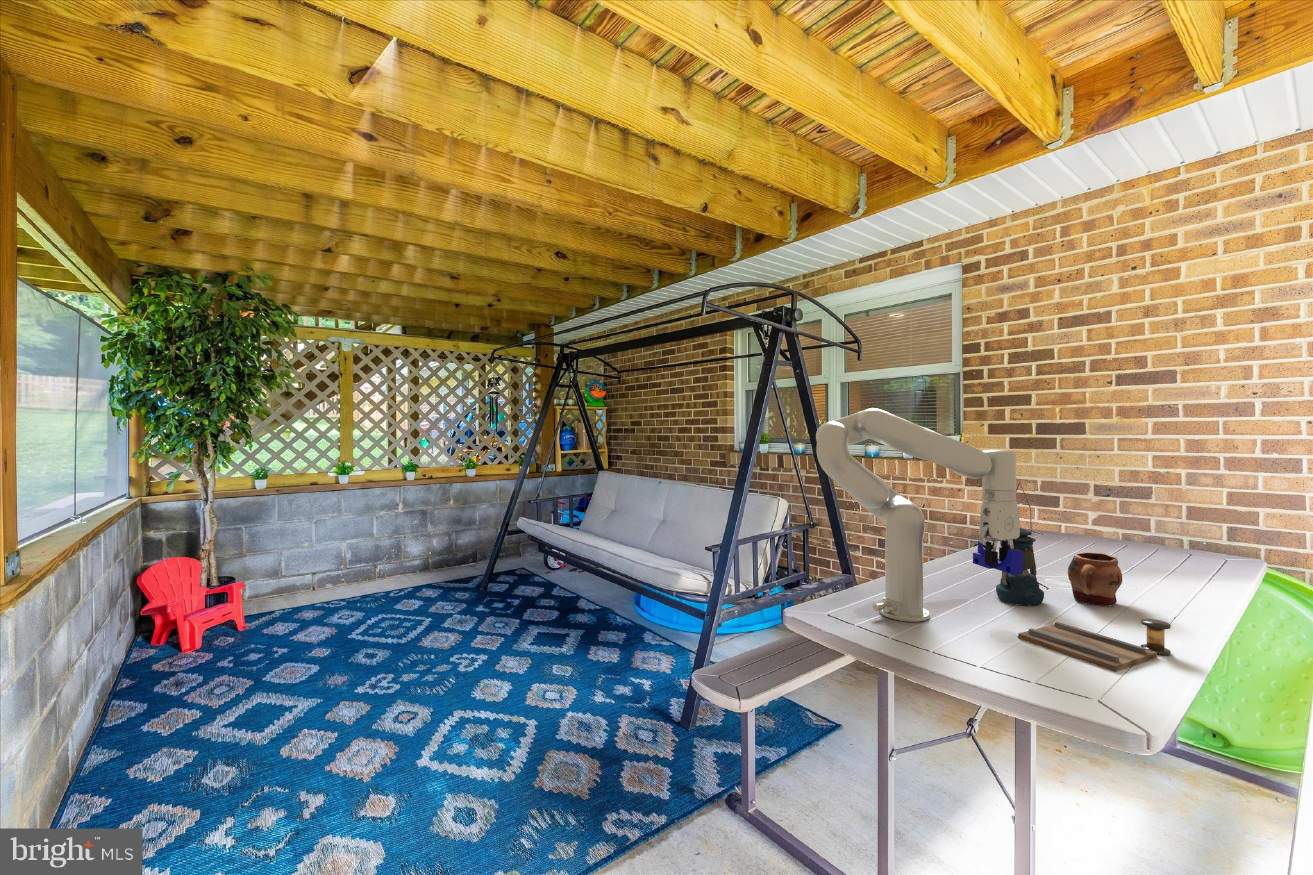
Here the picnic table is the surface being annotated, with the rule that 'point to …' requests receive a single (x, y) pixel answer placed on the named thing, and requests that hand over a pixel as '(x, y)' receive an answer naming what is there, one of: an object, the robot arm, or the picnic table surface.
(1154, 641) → the copper spool
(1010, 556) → the blue cradle block
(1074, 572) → the decorative planter
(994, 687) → the picnic table surface
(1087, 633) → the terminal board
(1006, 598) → the lantern
